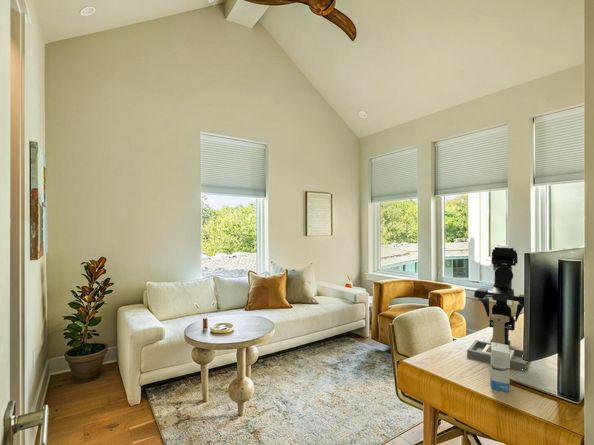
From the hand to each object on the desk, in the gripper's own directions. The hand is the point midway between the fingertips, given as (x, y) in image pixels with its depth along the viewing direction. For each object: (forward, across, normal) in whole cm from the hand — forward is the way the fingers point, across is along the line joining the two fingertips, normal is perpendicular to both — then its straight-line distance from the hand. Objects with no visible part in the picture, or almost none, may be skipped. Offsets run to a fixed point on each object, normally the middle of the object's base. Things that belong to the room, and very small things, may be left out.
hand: (501, 319), depth 130 cm
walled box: (+13, 0, -6) cm, 15 cm away
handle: (+13, 0, -6) cm, 14 cm away
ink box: (+13, +4, -30) cm, 34 cm away
